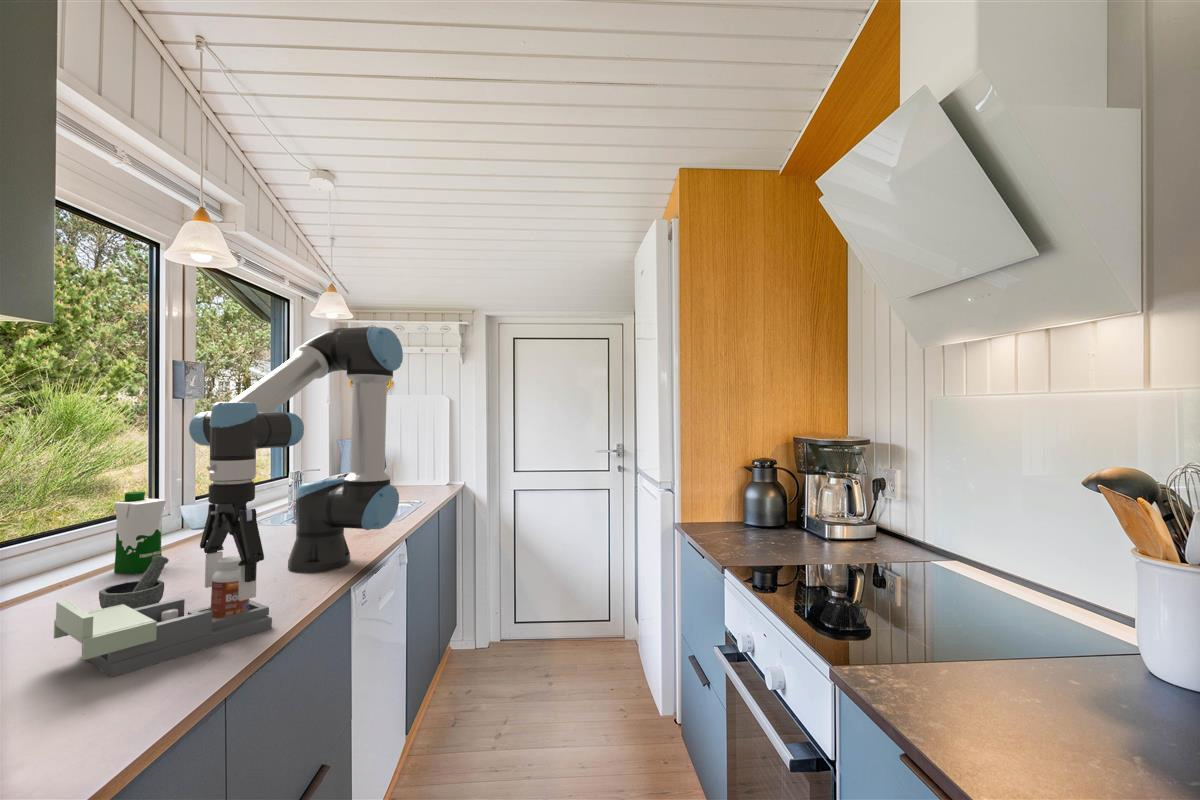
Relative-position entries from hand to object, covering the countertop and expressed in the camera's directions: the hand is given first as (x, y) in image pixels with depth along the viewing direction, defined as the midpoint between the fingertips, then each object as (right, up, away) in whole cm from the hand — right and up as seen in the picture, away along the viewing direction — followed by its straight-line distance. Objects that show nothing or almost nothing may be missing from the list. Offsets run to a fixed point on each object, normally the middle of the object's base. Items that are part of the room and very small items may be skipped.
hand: (229, 592), depth 107 cm
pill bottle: (0, -5, 0) cm, 5 cm away
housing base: (-4, -7, -7) cm, 10 cm away
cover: (-10, -2, -16) cm, 19 cm away
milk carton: (-49, -8, +38) cm, 63 cm away
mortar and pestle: (-21, -7, +3) cm, 22 cm away
